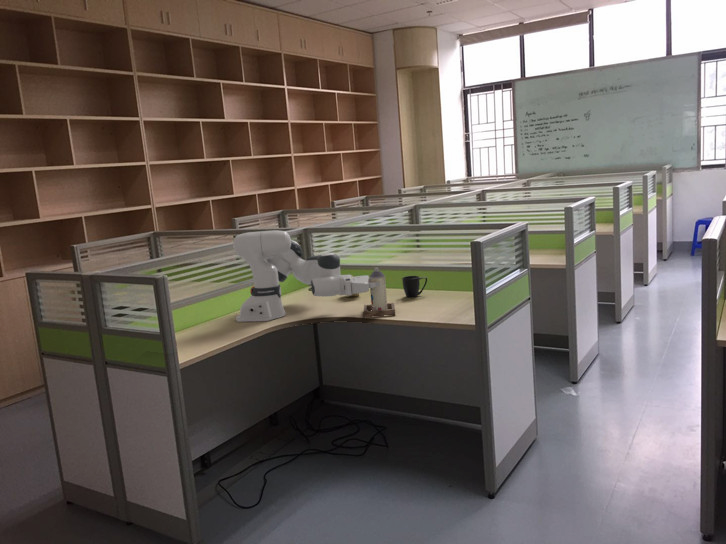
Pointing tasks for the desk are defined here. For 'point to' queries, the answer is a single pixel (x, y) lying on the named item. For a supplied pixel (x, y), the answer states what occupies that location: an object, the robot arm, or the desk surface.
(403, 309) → the desk surface
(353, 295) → the egg character toy
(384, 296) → the aerosol can
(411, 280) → the mug
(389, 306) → the frame
